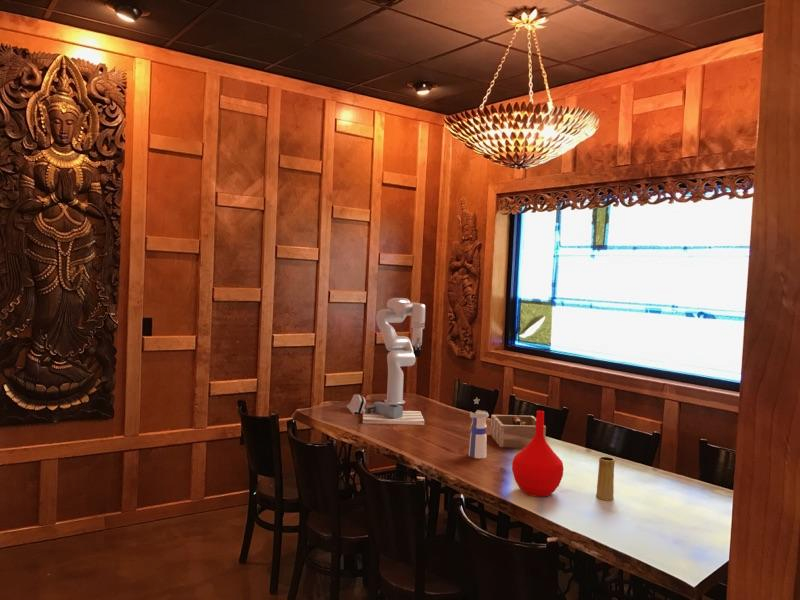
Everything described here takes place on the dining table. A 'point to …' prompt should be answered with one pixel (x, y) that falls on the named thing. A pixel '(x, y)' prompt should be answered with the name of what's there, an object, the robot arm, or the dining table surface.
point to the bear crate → (513, 430)
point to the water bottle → (478, 433)
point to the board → (407, 418)
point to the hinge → (357, 404)
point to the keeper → (368, 409)
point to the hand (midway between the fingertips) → (416, 355)
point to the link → (388, 410)
